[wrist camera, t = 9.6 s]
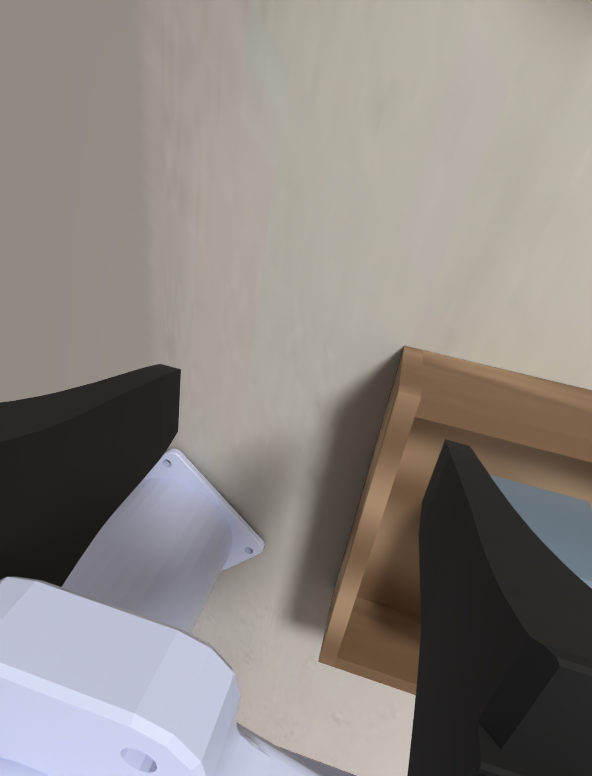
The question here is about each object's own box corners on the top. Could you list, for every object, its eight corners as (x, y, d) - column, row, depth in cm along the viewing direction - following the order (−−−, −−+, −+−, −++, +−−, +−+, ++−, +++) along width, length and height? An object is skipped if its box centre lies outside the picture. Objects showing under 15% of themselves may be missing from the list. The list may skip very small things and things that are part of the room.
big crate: (580, 669, 26) (606, 760, 22) (333, 590, 28) (318, 661, 24) (758, 430, 19) (845, 504, 15) (404, 345, 21) (398, 391, 17)
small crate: (527, 604, 24) (548, 702, 20) (429, 574, 25) (429, 662, 21) (588, 501, 21) (629, 592, 17) (474, 470, 22) (485, 549, 18)
